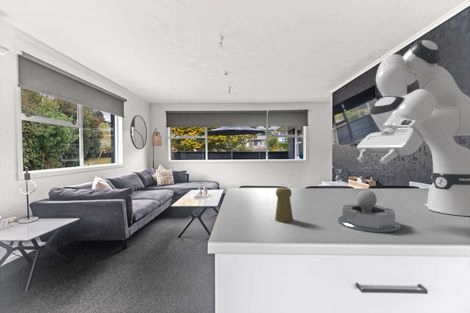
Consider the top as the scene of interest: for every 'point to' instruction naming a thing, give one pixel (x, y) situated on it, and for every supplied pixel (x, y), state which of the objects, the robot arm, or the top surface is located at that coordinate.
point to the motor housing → (369, 219)
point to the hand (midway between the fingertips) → (370, 161)
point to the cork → (283, 205)
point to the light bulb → (366, 200)
